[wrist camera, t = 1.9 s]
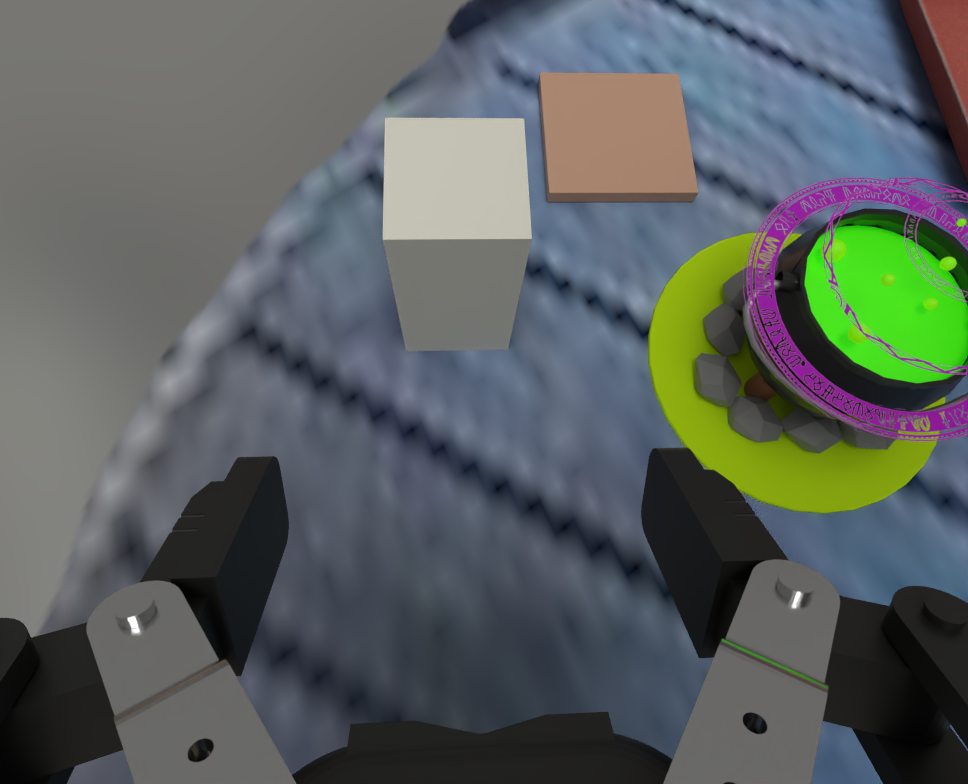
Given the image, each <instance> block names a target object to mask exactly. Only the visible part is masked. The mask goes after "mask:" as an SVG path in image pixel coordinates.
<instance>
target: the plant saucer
mask: <svg viewBox="0 0 968 784" xmlns="http://www.w3.org/2000/svg"><path fill="white" fill-rule="evenodd" d="M900 5H901V9H902V12H903V14H904V17H905V20H906V22H907V25H908V28H909V30H910V33H911V36H912V38H913V41H914V43H915V46H916V48H917V51H918V53H919V56H920V59H921V61H922V64H923V67H924V69H925V72H926V74H927V77H928V80H929V82H930V85H931V88H932V90H933V93H934V95H935V98H936V101H937V103H938V106H939V109H940V111H941V114H942V117H943V119H944V122H945V124H946V127H947V130H948V132H949V135H950V137H951V140H952V143H953V146H954V148H955V151H956V154H957V157H958V159H959V162H960V165H961V167H962V170H963V172H964V175H965V177H966V181H967V183H968V0H900Z"/></svg>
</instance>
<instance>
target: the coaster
mask: <svg viewBox="0 0 968 784" xmlns="http://www.w3.org/2000/svg"><path fill="white" fill-rule="evenodd" d="M538 90H539V103H540V116H541V129H542V142H543V155H544V168H545V181H546V194H547V202H693V201H694V199H695V197H696V196H697V194H698V187H697V181H696V175H695V169H694V163H693V157H692V151H691V145H690V139H689V133H688V127H687V121H686V115H685V109H684V103H683V97H682V91H681V85H680V79H679V74H633V73H540V75H539V81H538Z"/></svg>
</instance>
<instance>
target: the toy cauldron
mask: <svg viewBox="0 0 968 784" xmlns="http://www.w3.org/2000/svg"><path fill="white" fill-rule="evenodd" d="M842 179H871V180H879V179H872V178H840V179H833V180H828V181H824V182H829V181H835V180H842ZM893 179H894V178H892V182H890V181H891V178H890V179H889V180H888V181H885V180H880V181H879V183H877V182H876V181H874V182H872V181H870V182H867V180H865V181H862V180H861V181H858V180H857V181H854V180H852V181H849V180H848V181H844V180H843V181H844V182H841V181H839V182H836V181H835V183H832V182H830V184H828V183H826V184H825V185H824V184H822V186H819V185H818V184H821V183H824V182H820V183H816V184H814V185H818V187H814V188H813V189H811V188H810V190H806V192H804V191H803V193H802V194H800V193H799V195H798V196H797V195H795V194H796V193H798V192H800V191H802V190H804V189H806V188H809V187H812V186H814V185H811V186H808V187H806V188H803V189H801V190H799V191H798V192H796V193H794V194H792V195H791V196H793V195H795V196H796V197H792V199H791V200H790V199H789V202H786V204H782V203H783V202H784V201H786V200H787V199H788V198H790V197H791V196H789V197H788V198H786V199H785V200H784V201H782V202H781V203H780V204H779V205H777V206H776V207H775V209H776V208H777V207H779V206H780V205H781V204H782V205H783V206H782V207H779V208H780V209H777V212H774V216H773V215H772V218H769V221H767V225H765V228H763V231H761V232H760V233H759V231H760V229H761V227H762V226H763V224H764V223H765V221H766V220H767V218H768V217H769V216H770V215H771V214H772V213H773V211H774V210H775V209H773V211H771V213H770V214H769V215H768V216H767V217H766V219H765V220H764V222H763V223H762V225H761V226H760V228H759V230H758V232H757V233H747V234H743V235H739V236H736V237H732V238H728V239H725V240H722V241H720V242H718V243H716V244H714V245H712V246H710V247H708V248H706V249H704V250H702V251H700V252H699V253H697V254H696V255H695V256H694V257H692V258H691V259H690V260H689V261H688V262H686V263H685V264H684V265H683V266H681V267H680V268H679V269H678V271H677V272H676V273H675V274H674V276H673V277H672V278H671V280H670V281H669V282H668V283H667V285H666V286H665V287H664V289H663V291H662V293H661V296H660V298H659V300H658V302H657V304H656V306H655V308H654V311H653V316H652V320H651V325H650V330H649V334H648V363H649V368H650V373H651V378H652V383H653V387H654V391H655V394H656V396H657V398H658V401H659V403H660V405H661V408H662V410H663V413H664V415H665V417H666V419H667V421H668V422H669V424H670V425H671V427H672V428H673V430H674V431H675V433H676V434H677V436H678V437H679V439H680V440H681V442H682V443H683V445H684V446H685V447H686V448H689V449H690V450H691V451H692V452H693V454H694V455H695V457H696V458H697V459H698V460H699V462H700V463H701V464H702V465H703V466H704V467H705V468H706V469H708V470H715V471H717V472H718V473H720V474H721V475H722V476H724V477H725V478H727V479H728V480H729V481H731V482H732V483H734V485H735V486H736V487H737V489H738V490H739V491H740V492H742V493H744V494H746V495H748V496H750V497H752V498H754V499H756V500H758V501H760V502H764V503H767V504H770V505H774V506H777V507H781V508H784V509H788V510H791V511H800V512H812V513H823V514H824V513H833V512H841V511H850V510H855V509H858V508H861V507H864V506H866V505H869V504H872V503H875V502H878V501H881V500H883V499H884V498H886V497H887V496H889V495H891V494H892V493H894V492H895V491H897V490H898V489H900V488H901V487H903V486H905V485H906V484H907V483H908V482H909V481H910V480H911V479H912V478H913V477H914V475H915V474H916V473H917V472H918V471H919V470H920V469H921V468H922V467H923V466H924V465H925V463H926V461H927V459H928V458H929V456H930V454H931V452H932V450H933V449H934V447H935V445H936V443H937V441H938V440H947V439H950V438H956V437H960V436H963V435H966V434H968V432H967V433H965V430H968V427H966V428H963V429H959V430H956V431H953V432H947V433H943V434H940V431H942V430H948V429H952V428H955V427H959V426H962V425H965V424H967V423H968V420H966V419H964V418H962V417H961V414H962V412H961V411H959V410H957V408H958V409H960V410H962V405H963V411H965V412H967V413H968V393H966V394H965V395H962V396H960V397H958V398H956V399H954V400H952V401H950V402H947V403H945V396H946V395H948V394H950V392H951V391H952V390H953V389H954V388H955V386H956V385H957V384H958V383H959V382H960V381H961V379H962V378H963V377H964V376H965V375H968V251H967V250H966V249H965V248H964V247H963V246H962V245H961V243H960V242H959V241H958V240H957V239H956V238H955V237H953V236H952V235H950V234H948V233H947V232H945V231H944V230H942V229H940V228H939V227H937V226H936V225H934V224H933V223H931V222H929V221H928V220H926V219H923V218H921V217H923V216H922V215H924V216H926V217H928V218H930V219H932V220H934V221H935V222H937V223H938V224H940V225H941V226H943V227H944V228H946V229H947V230H948V231H950V232H951V233H952V234H954V235H955V236H956V237H957V238H958V239H959V240H960V241H961V242H963V243H964V244H965V245H966V246H967V247H968V243H966V242H967V241H968V239H967V240H964V239H965V237H966V236H964V235H965V234H966V233H967V232H968V227H967V226H965V224H967V225H968V223H967V220H968V219H967V218H966V217H964V216H963V215H962V214H960V213H959V212H958V211H956V210H955V209H953V208H952V207H950V206H949V205H947V204H945V203H944V202H949V201H961V202H967V201H962V200H948V201H940V200H939V199H938V198H937V199H936V197H935V198H934V197H932V195H935V194H938V193H945V192H950V193H952V192H959V193H964V194H965V195H966V196H967V197H968V193H966V192H964V191H961V190H959V189H957V188H955V187H953V186H950V185H947V186H949V187H952V188H955V189H957V190H953V189H952V190H951V189H945V188H941V187H938V186H936V185H934V184H932V183H929V182H927V181H931V182H935V183H939V182H936V181H932V180H927V179H919V178H895V180H893ZM898 179H916V180H913V181H908V182H904V183H902V182H898ZM881 181H885V182H887V183H886V184H885V182H884V183H881ZM893 181H894V182H893ZM918 181H922V182H925V183H927V184H930V185H932V186H934V187H933V188H937V189H940V190H944V192H938V193H934V194H931V195H928V194H926V193H924V192H921V191H919V190H916V189H914V188H911V187H908V186H905V185H911V183H913V182H918ZM851 182H852V183H854V182H861V183H862V182H863V183H875V184H882V185H880V186H878V185H877V186H876V185H873V184H870V185H859V184H858V185H857V184H856V185H843V186H836V187H830V188H826V189H823V190H819V191H817V192H814V193H812V194H809V195H807V196H805V197H803V198H801V199H799V200H798V201H796V202H795V203H793V204H792V205H791V206H789V207H788V208H787V209H785V210H784V211H783V212H782V213H781V214H780V215H779V216H778V217H777V219H776V220H775V221H774V222H773V224H772V225H771V227H770V228H769V230H768V231H767V232H764V231H765V230H766V228H767V226H768V225H769V223H770V222H771V221H772V219H773V218H774V217H775V216H776V215H777V214H778V213H779V212H780V211H781V210H782V209H783V208H784V207H785V206H786V205H788V204H789V203H790V202H792V201H793V200H795V199H796V198H798V197H799V196H801V195H803V194H806V193H808V192H810V191H812V190H815V189H818V188H821V187H825V186H829V185H834V184H841V183H851ZM889 182H890V183H893V184H892V185H891V184H890V183H889ZM939 184H943V183H939ZM885 185H887V187H888V186H892V187H896V186H895V185H901V186H905V187H908V188H911V189H914V190H916V191H919V192H921V193H924V194H926V195H928V196H927V197H928V198H927V197H925V195H924V196H923V195H921V193H920V194H918V193H917V192H913V191H912V190H911V191H910V190H908V189H904V188H903V187H901V188H900V187H899V186H897V187H896V188H900V189H903V190H906V191H909V192H912V193H915V194H917V195H920V196H922V197H924V198H923V199H922V198H919V197H917V196H914V195H912V194H909V193H906V192H903V191H900V190H896V189H892V188H886V187H882V186H885ZM912 185H916V184H912ZM943 185H946V184H943ZM920 186H924V185H920ZM842 187H847V188H848V190H849V191H850V192H851V194H850V193H849V191H848V190H847V189H846V190H847V192H848V194H849V196H848V194H847V192H846V190H845V188H844V190H845V193H846V195H847V198H846V196H845V193H844V191H843V188H842ZM855 187H858V188H859V189H857V188H856V189H855ZM876 187H878V188H876ZM928 187H931V186H928ZM864 188H866V192H865V191H864V192H863V189H864ZM829 189H831V192H832V195H834V196H833V197H834V199H835V201H834V199H833V197H832V196H831V193H830V191H828V193H829V195H830V196H831V199H832V201H833V202H832V201H831V199H830V197H828V198H827V197H826V195H827V196H829V195H828V193H827V192H825V193H826V195H825V193H824V191H826V190H829ZM854 189H855V192H854V191H853V190H854ZM879 189H880V190H881V194H879V199H878V194H877V193H880V190H879ZM886 189H887V190H888V191H889V192H890V193H891V195H890V196H888V195H889V194H890V193H889V192H888V191H886V192H885V195H886V196H888V198H889V199H890V200H891V201H890V200H889V199H888V198H886V199H885V200H883V199H884V198H885V197H886V196H885V195H884V194H883V192H884V191H885V190H886ZM860 190H861V192H860ZM867 190H868V191H867ZM859 192H860V193H859ZM870 192H872V196H873V198H872V196H871V193H870ZM874 192H876V193H875V198H874ZM817 193H821V194H823V195H824V196H825V199H824V200H825V202H826V203H827V204H825V202H824V201H823V199H822V198H824V197H823V195H821V194H817ZM869 193H870V198H868V197H869ZM894 193H897V194H898V193H899V194H900V196H901V204H899V200H900V196H899V195H898V197H899V200H898V197H896V199H895V200H894V202H892V197H893V195H894ZM866 194H867V196H868V197H867V196H866ZM953 194H954V193H952V194H951V195H953ZM858 195H861V196H862V197H863V198H862V197H861V196H858ZM864 195H865V197H866V198H864ZM905 195H908V196H909V198H910V200H909V199H908V197H907V196H906V197H904V198H905V200H906V201H907V200H909V201H908V202H907V203H908V204H909V206H908V204H907V203H905V204H903V203H904V202H905V200H904V198H903V196H905ZM955 195H957V194H955ZM955 195H953V196H952V198H954V197H955ZM959 195H960V194H959ZM959 195H957V196H959ZM961 195H962V194H961ZM810 196H811V197H813V198H814V199H815V200H816V202H817V204H820V205H821V206H820V205H816V208H814V207H815V205H814V204H816V202H815V201H814V200H813V199H812V198H810V199H811V200H812V202H813V203H814V204H813V203H812V202H811V201H810V199H809V197H810ZM857 196H858V198H856V197H857ZM895 196H896V194H895V195H894V198H895ZM929 196H930V197H932V198H934V199H935V201H936V200H938V201H940V202H939V203H938V202H935V201H934V199H933V200H931V199H930V198H929ZM942 196H943V195H942ZM948 196H949V195H948V194H947V198H948ZM962 196H964V195H962ZM962 196H959V197H960V198H963V197H962ZM853 197H854V198H855V199H851V198H853ZM943 197H944V196H943ZM949 197H950V196H949ZM848 198H849V199H848ZM925 198H926V199H928V201H929V200H931V201H933V202H934V203H936V204H932V203H930V202H928V201H926V200H924V199H925ZM944 198H945V197H944ZM950 198H951V197H950ZM956 198H957V197H956ZM819 199H822V200H821V202H822V204H823V205H822V204H821V202H820V201H819ZM941 199H942V197H941ZM963 199H966V198H963ZM802 200H804V201H806V202H808V203H809V204H810V205H811V207H812V208H813V209H811V208H810V207H808V206H807V205H808V204H807V203H806V202H804V203H806V204H807V205H806V204H804V205H805V207H806V209H807V212H806V211H805V210H804V209H803V208H802V206H803V207H804V205H803V203H801V204H802V206H801V204H800V202H802ZM852 200H856V201H857V200H871V201H880V202H886V203H891V204H895V205H899V206H902V207H905V208H908V209H910V212H909V214H907V213H904V212H901V211H898V210H889V209H862V210H858V211H854V212H851V213H847V214H844V213H845V212H846V210H847V209H848V208H849V206H851V205H852V204H853V203H861V202H856V201H855V202H851V203H852V204H850V205H849V203H850V201H852ZM966 200H968V199H966ZM845 201H847V203H844V202H845ZM838 202H839V203H840V202H842V203H841V204H838V205H839V206H838V205H835V206H838V208H837V209H836V210H835V212H834V213H833V215H832V217H831V219H830V221H829V222H827V223H825V224H823V225H822V226H820V227H818V228H815V229H812V230H810V231H807V232H805V233H804V234H802V235H801V234H794V233H793V232H794V231H795V230H794V231H793V232H792V233H790V232H791V230H792V229H793V228H794V227H795V226H796V225H797V224H798V223H799V222H800V221H801V220H803V219H804V218H805V217H807V216H808V215H810V214H811V213H813V212H815V211H817V210H819V209H821V208H823V207H826V206H828V205H832V204H835V203H838ZM843 203H844V204H846V206H845V208H844V210H842V211H841V212H839V213H838V214H837V215H836V216H834V215H835V213H836V211H837V210H838V209H839V208H840V206H841V205H842V204H843ZM871 203H875V202H871ZM940 203H943V204H945V205H947V206H948V207H950V208H951V209H953V210H954V211H956V212H957V213H959V214H960V215H961V216H963V217H964V218H965V219H967V220H965V219H963V217H959V214H955V212H952V211H951V209H947V206H945V207H944V206H942V205H943V204H940ZM879 204H882V203H879ZM902 204H903V205H902ZM937 204H938V205H940V206H942V207H943V208H945V209H947V210H948V211H950V212H951V213H953V214H954V215H956V216H957V217H958V218H960V219H959V220H958V219H956V218H955V217H954V216H952V215H951V214H949V213H948V212H946V211H945V210H943V209H941V208H939V207H938V206H936V205H937ZM848 205H849V206H848ZM887 205H888V204H887ZM891 206H892V205H891ZM933 206H935V207H936V208H937V209H936V215H935V219H933V218H934V214H935V209H934V211H933V213H932V215H931V217H933V218H931V217H930V216H928V215H927V214H928V212H929V210H930V209H931V207H933ZM832 207H833V206H832ZM895 207H896V206H895ZM828 208H829V207H828ZM898 208H899V207H898ZM933 208H934V207H933ZM933 208H932V209H931V211H930V212H929V215H930V214H931V212H932V210H933ZM826 209H827V208H826ZM902 209H903V208H902ZM787 210H788V211H790V212H791V213H793V212H794V213H793V215H794V216H795V217H797V218H798V219H799V220H798V221H797V222H796V220H795V219H794V218H795V217H794V216H793V215H792V216H793V217H794V218H793V217H791V216H790V217H789V214H790V213H789V212H788V213H789V214H787V212H786V211H787ZM823 210H825V209H823ZM823 210H821V211H823ZM905 210H906V209H905ZM912 210H913V211H915V212H916V213H917V212H918V215H919V213H920V214H922V215H920V217H917V216H918V215H915V216H914V215H910V213H911V211H912ZM923 210H925V211H924V212H923V213H922V211H923ZM819 212H820V211H819ZM925 212H926V213H925ZM817 213H818V212H817ZM924 213H925V214H924ZM944 213H945V214H947V215H948V217H947V218H946V220H945V221H944V219H945V217H946V215H944V216H943V217H942V215H943V214H944ZM815 214H816V213H815ZM843 214H844V215H843ZM813 215H814V214H813ZM839 215H840V216H839ZM781 216H783V217H784V218H786V219H787V220H788V221H791V222H793V223H791V222H788V221H787V220H785V219H784V218H783V217H781ZM811 216H812V215H811ZM811 216H810V217H811ZM780 217H781V219H782V220H783V221H785V222H786V223H787V224H788V225H789V227H790V228H789V227H788V225H787V224H786V223H784V222H783V221H781V220H780V219H779V218H780ZM941 217H942V219H941V221H940V222H938V221H939V220H940V218H941ZM952 217H953V218H954V219H955V220H956V222H957V224H956V225H955V220H954V219H953V218H952ZM808 218H809V217H808ZM808 218H807V219H808ZM924 218H925V217H924ZM807 219H805V220H807ZM936 219H937V220H938V221H936ZM805 220H804V221H805ZM804 221H803V222H804ZM943 221H944V223H942V222H943ZM948 221H949V222H950V223H952V224H953V225H955V226H953V225H952V226H951V227H950V228H949V226H950V225H951V224H950V223H948V224H947V225H946V226H945V224H946V223H947V222H948ZM803 222H802V223H803ZM775 223H776V224H782V225H783V228H784V229H788V230H784V231H785V233H784V231H783V230H777V229H782V225H776V226H777V229H776V226H775ZM802 223H801V224H802ZM958 226H960V227H959V228H958ZM962 226H964V228H963V229H962ZM957 228H958V230H957V231H960V230H961V229H962V231H961V232H959V236H958V233H957V232H955V231H953V230H956V229H957ZM962 236H964V237H963V238H961V237H962ZM967 238H968V236H967ZM954 409H955V411H956V415H957V417H958V419H959V421H960V423H961V424H959V425H956V424H955V422H954V420H953V418H954V419H955V421H956V423H959V422H958V420H957V418H956V416H955V413H954ZM948 412H949V413H951V414H952V416H953V418H952V416H951V415H950V414H949V413H948ZM944 415H945V417H946V419H947V420H949V422H948V423H949V428H947V427H946V426H945V423H943V422H944V421H943V419H944V420H945V418H944ZM963 417H965V418H967V414H966V413H964V412H963ZM945 421H946V420H945ZM946 425H947V426H948V424H947V422H946ZM962 431H963V432H964V433H963V434H960V432H962ZM956 433H959V434H960V435H957V436H953V437H948V438H943V439H938V437H939V438H941V436H944V437H946V435H948V436H951V435H952V434H954V435H956Z"/></svg>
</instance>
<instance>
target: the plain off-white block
mask: <svg viewBox="0 0 968 784" xmlns="http://www.w3.org/2000/svg"><path fill="white" fill-rule="evenodd" d="M531 240H532V234H531V219H530V204H529V189H528V174H527V158H526V143H525V128H524V119H511V118H385V155H384V204H383V243H384V248H385V253H386V257H387V262H388V267H389V272H390V276H391V281H392V286H393V291H394V296H395V300H396V305H397V310H398V315H399V319H400V324H401V329H402V334H403V339H404V343H405V348H406V351H457V350H508V347H509V342H510V338H511V333H512V328H513V324H514V319H515V314H516V310H517V305H518V301H519V296H520V291H521V287H522V282H523V277H524V273H525V268H526V263H527V259H528V254H529V249H530V245H531Z"/></svg>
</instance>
